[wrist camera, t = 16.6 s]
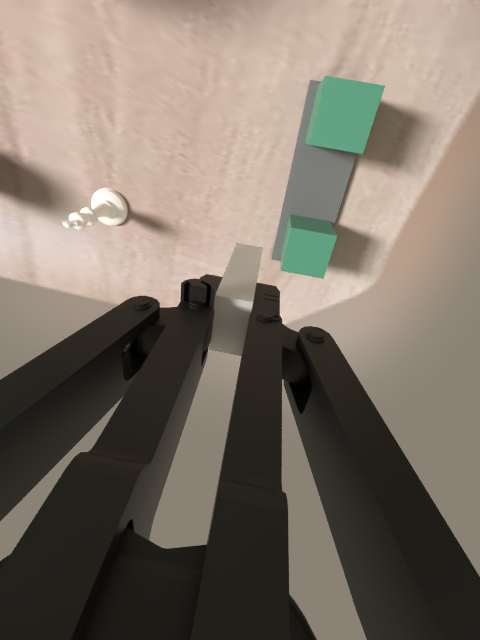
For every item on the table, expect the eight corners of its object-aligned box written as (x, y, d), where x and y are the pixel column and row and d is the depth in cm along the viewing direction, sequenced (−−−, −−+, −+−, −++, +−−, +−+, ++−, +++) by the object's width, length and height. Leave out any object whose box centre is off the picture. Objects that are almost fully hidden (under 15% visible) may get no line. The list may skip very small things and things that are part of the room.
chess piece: (130, 225, 42) (93, 248, 34) (97, 224, 43) (52, 246, 34) (124, 188, 40) (81, 203, 31) (89, 187, 40) (38, 201, 32)
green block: (280, 252, 41) (280, 270, 36) (289, 214, 38) (291, 227, 33) (317, 259, 41) (323, 278, 35) (329, 221, 38) (337, 236, 33)
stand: (271, 257, 42) (270, 278, 36) (309, 80, 32) (316, 68, 25) (320, 266, 42) (326, 288, 36) (375, 91, 31) (397, 81, 25)
